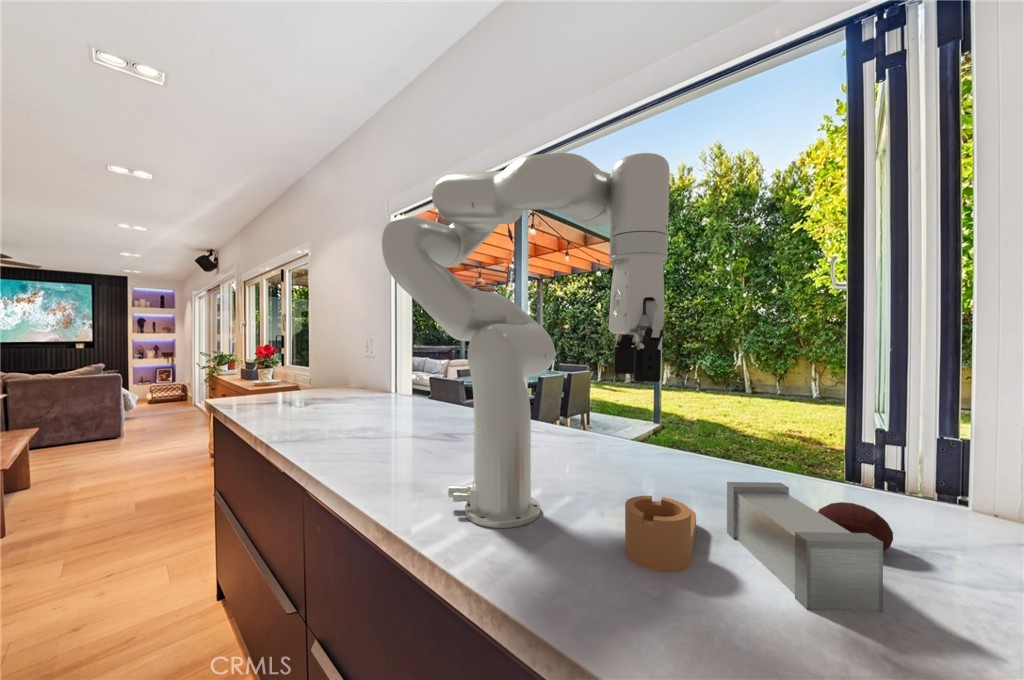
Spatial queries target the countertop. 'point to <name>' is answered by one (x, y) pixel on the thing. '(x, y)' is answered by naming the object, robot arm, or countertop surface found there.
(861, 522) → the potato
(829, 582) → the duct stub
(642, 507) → the bracket
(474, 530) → the countertop surface
